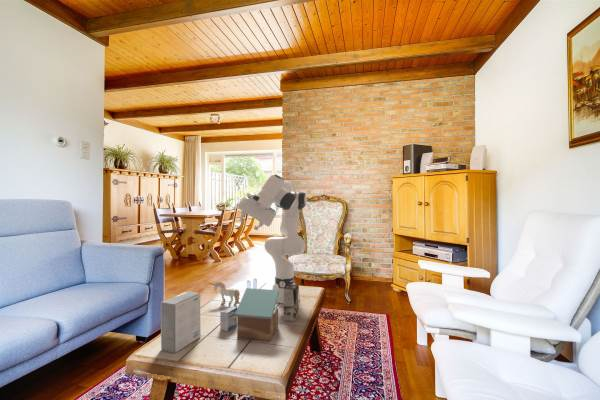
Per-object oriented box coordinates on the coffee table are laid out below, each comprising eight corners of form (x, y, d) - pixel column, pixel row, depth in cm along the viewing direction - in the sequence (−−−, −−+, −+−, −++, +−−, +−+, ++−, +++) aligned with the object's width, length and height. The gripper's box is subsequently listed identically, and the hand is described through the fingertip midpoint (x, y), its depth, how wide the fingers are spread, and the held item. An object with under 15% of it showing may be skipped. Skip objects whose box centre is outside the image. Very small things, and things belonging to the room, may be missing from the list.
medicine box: (227, 331, 136) (227, 313, 136) (219, 329, 138) (220, 311, 138) (237, 324, 144) (237, 307, 144) (229, 323, 145) (229, 306, 145)
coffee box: (295, 321, 148) (295, 289, 148) (283, 320, 150) (283, 288, 150) (299, 314, 157) (299, 284, 157) (287, 313, 159) (287, 284, 159)
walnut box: (248, 325, 143) (248, 305, 143) (278, 328, 140) (278, 307, 140) (237, 338, 129) (237, 316, 129) (269, 341, 127) (269, 319, 127)
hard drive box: (187, 334, 133) (188, 290, 133) (201, 337, 130) (201, 292, 130) (159, 350, 119) (160, 301, 119) (174, 354, 116) (175, 304, 116)
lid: (246, 289, 143) (246, 288, 142) (279, 292, 139) (278, 290, 139) (235, 316, 129) (234, 315, 128) (271, 320, 126) (270, 318, 125)
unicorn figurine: (212, 301, 176) (212, 279, 176) (243, 303, 174) (243, 281, 174) (207, 305, 169) (207, 282, 169) (239, 307, 167) (239, 284, 167)
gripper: (274, 210, 157) (261, 232, 155) (245, 190, 146) (230, 214, 144) (280, 213, 152) (266, 236, 150) (250, 192, 141) (234, 217, 139)
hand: (248, 225), depth 147 cm, fingers open, 8 cm apart
